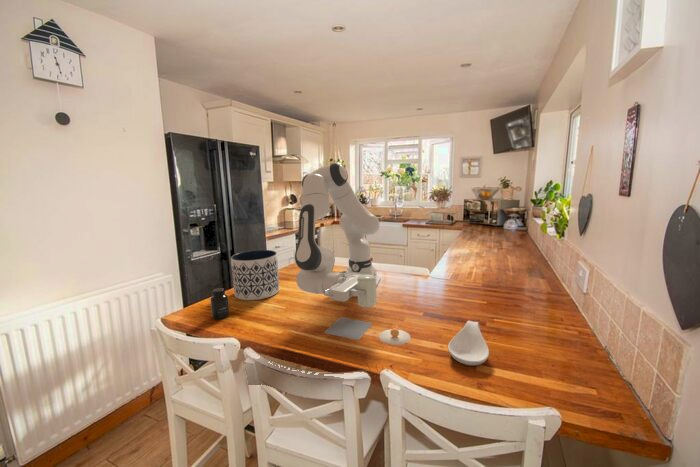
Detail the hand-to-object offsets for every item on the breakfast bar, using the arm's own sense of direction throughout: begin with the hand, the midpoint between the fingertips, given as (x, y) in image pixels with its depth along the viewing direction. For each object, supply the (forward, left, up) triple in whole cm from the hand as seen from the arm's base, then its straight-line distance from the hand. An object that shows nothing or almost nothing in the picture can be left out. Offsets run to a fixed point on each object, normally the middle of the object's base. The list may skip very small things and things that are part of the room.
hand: (369, 289), depth 109 cm
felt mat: (0, -9, -17) cm, 19 cm away
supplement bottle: (+10, -65, -17) cm, 68 cm away
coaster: (0, +9, -17) cm, 19 cm away
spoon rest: (-2, +34, -17) cm, 38 cm away
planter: (-18, -70, -17) cm, 74 cm away
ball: (0, +9, -16) cm, 19 cm away
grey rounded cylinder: (0, -1, -5) cm, 6 cm away
